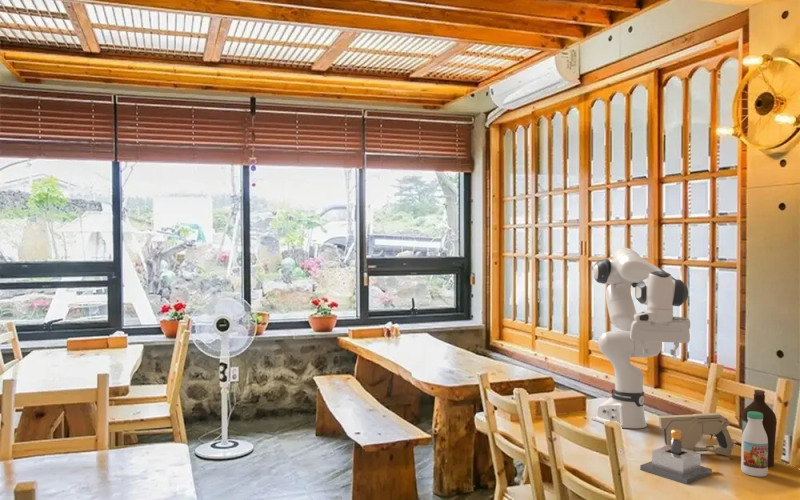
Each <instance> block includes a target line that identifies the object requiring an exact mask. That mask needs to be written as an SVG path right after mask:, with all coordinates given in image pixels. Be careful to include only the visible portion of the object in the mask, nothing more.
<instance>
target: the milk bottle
mask: <svg viewBox="0 0 800 500" xmlns="http://www.w3.org/2000/svg"><path fill="white" fill-rule="evenodd" d="M747 419H748V423H747V425H746V427H745V429H744V431H743V434H742V433H741V434H742V435H741V449H740V453H741V454H740V471H741V472H742V473H743V474H744V475H745V474H746V475H748V476H752V477H766V476H768V474H769V473H768V472H769V470H768V469H769V467H768V438H767V434H766V432H765V430H764V427H763V424H762V421H763V414H762V413H760V412H755V411H749V412H748V413H747Z"/></svg>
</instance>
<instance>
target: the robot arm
mask: <svg viewBox="0 0 800 500" xmlns="http://www.w3.org/2000/svg"><path fill="white" fill-rule="evenodd" d="M612 257H613V258H609V259H608V258H604V259H601V260H598V261H596V263H595V264H594V265H593V266H594V267H593V269H592V271H593V273H592V274H593V278H594V280H595V281H596V282H597V283H599V284H602V285H603V284H604V285H606V284H609V285H608V286H607V287H606V290H605V299H606V302H605V303H606V306H607V311H608V316H609V320H610V323H611V324H612V326H614V327H615V328H617V329H618V330H609V331H605V332H602V333H601V334H600V336H599V337H598V341H597V344H598V349H599V351H600V352H601V354H602V355H603V356H605V357H606V358H607V359H608V360H609V361H610V363H611V366H612V368H613V371H614V380H615V381H614V383H615V384H614V388H613V389H611V390H609V394H611V395H610V397H609V398H607V399H606V400H604V401H602V402H601V403H599V405H598V407H597V410H596V413H595V414H593V415H591V420H592V421H595V422H598V423H601V424H604V422H605V421H617V422H619V423H620V424H621V427H622V428H623V429H644V428H647V426H648V425H647V422H646V421H647V420H646V418H645V417H646V416H645V409H644V408H645V407H644V406H645V391H644V373H643V371H642V370H641V369H640V368H639V367H637V366H635V365H633V364H631V360H630V358H643V359H644V358H645V359H646V358H652V357H656V356H658V355H659V354H660V352H662V348H663V347H662V346H663V343H673V345H674V346H673V348H672V349H670V352H669V353H670V355H671V356H676V351H677V350H678V349H679V347H680V344H681V343H682V344H688V343H689V342H690V340H691V338H690V328H691V321H690V319H689V318H687V317H685V316H674V307H680V306H682V305H683V304H685V302H686V301H687V300H688V299H689V289H688V286H687V285H686V283H685V282H684V281H683V280H682V279H677V278H674V277H673V276H672V274H670V273H669V272H666V271H665V270H664V269H663V268H661V267H659V266H657V265H655V264H654V263H653V264H652V263H651V262H649V261H647V260H646V259H645V258H643V257H642V256H641V255H640V254H639V253H637V251H635V250H633V249H632V248H629V247H621V248H619V249H617V250H616V251H615V252H614V255H613V256H612ZM631 287H632V288H633V289H635V290H634V292H635V295H634V296H635V299H636V301H638V303H640V304H641V305H646V306H647V307H646V310H644V311H640V312H637V311H636V308H635V307H636V306H635V304H634V299H633V296H632V294H631ZM622 428H621V429H622Z"/></svg>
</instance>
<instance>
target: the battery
mask: <svg viewBox="0 0 800 500" xmlns="http://www.w3.org/2000/svg"><path fill="white" fill-rule="evenodd" d="M681 442H682V431H681V430H677V429H672V430H671V453H672V454H676V455H679V456H680V455H681Z"/></svg>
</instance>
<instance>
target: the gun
mask: <svg viewBox="0 0 800 500" xmlns="http://www.w3.org/2000/svg"><path fill="white" fill-rule="evenodd" d="M720 421H722V422H720ZM658 424H659V428H660V429H661V430H663V431H664V432H663V433H664V434H663V437H664V445H663V447H665V446H668V445H671V430H672V429H677V430H681V431H682V442H681V448H683V449H687V450H690V451H694V452H698V453H701V452H709V453H710V452H711V453H714V454H716V455H717V454H718V455H723V456H728V457H731V454H732V451H733V448H734V443H733V442H734V441H733V440H732V436H731V435H730V432H729V430H728V429H727V427H728V426H730V424H731V422H730V421H728V420H727V419H726V418H725V417H724V416H723V415H722V414H720V413H719V412H708V413H707V412H706V413H704V412H703V413H693V414H677V415H676V414H675V415H674V414H673V415H659V416H658ZM706 435H708V436H709V435H710V439H712V438H713V435H714V436H715V437H716V439H715V440H716V441H717V443H718V444H713V445H706V446H697V445H698V443H699V441H701V439H702V438H703V436H706Z"/></svg>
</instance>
